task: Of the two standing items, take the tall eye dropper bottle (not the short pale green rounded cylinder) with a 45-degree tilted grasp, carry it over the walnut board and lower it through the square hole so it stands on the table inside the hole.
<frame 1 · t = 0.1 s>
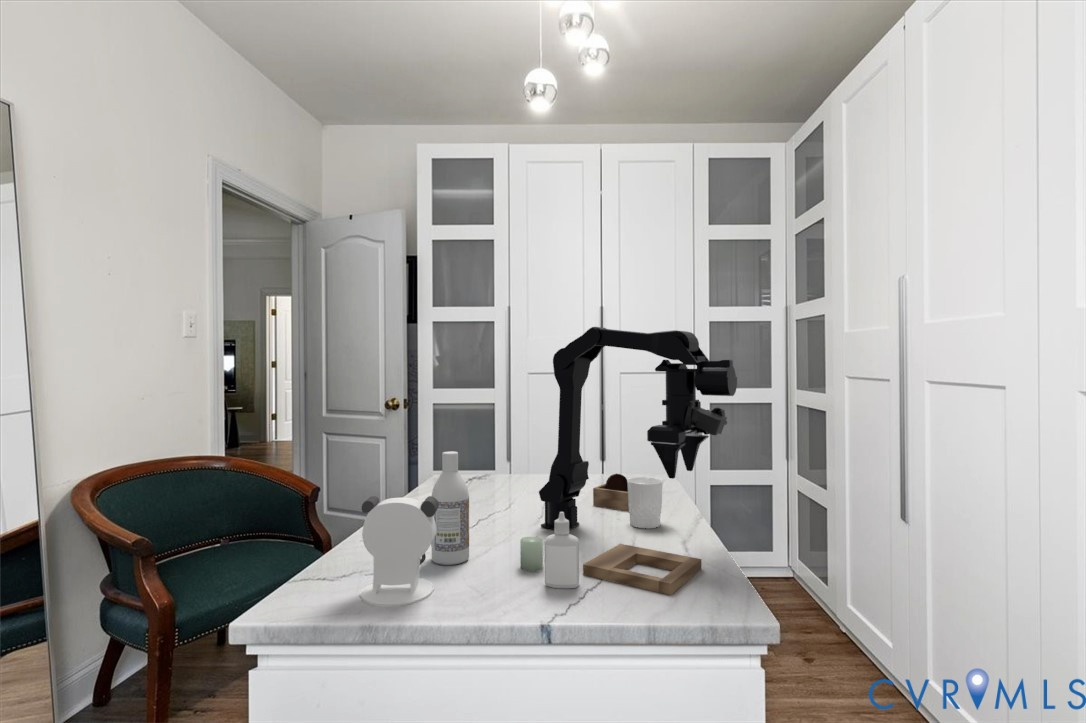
hand: (681, 474, 117), 15 cm above the counter, tool pointing down, fingers open, 9 cm apart
dark brown rounded piece: (624, 504, 153), resting in walnut watch frame
bath foam: (450, 560, 111), on the counter
eye dropper bottle: (562, 586, 98), on the counter
walnut board: (643, 571, 104), on the counter
pale green rounded cylinder: (531, 567, 107), on the counter
white cup: (644, 525, 134), on the counter
walnut watch frame: (621, 504, 153), on the counter
panda figurine: (399, 593, 95), on the counter
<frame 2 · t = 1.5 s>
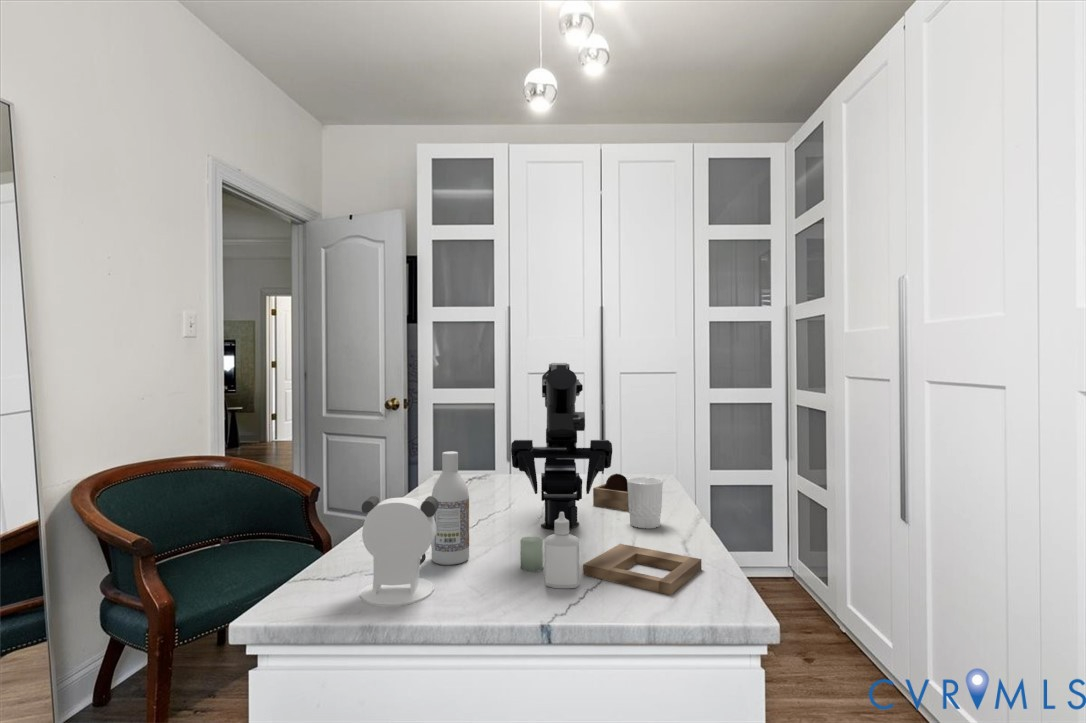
hand: (561, 492, 106), 13 cm above the counter, tool tilted 45°, fingers open, 9 cm apart
nothing on the counter moved.
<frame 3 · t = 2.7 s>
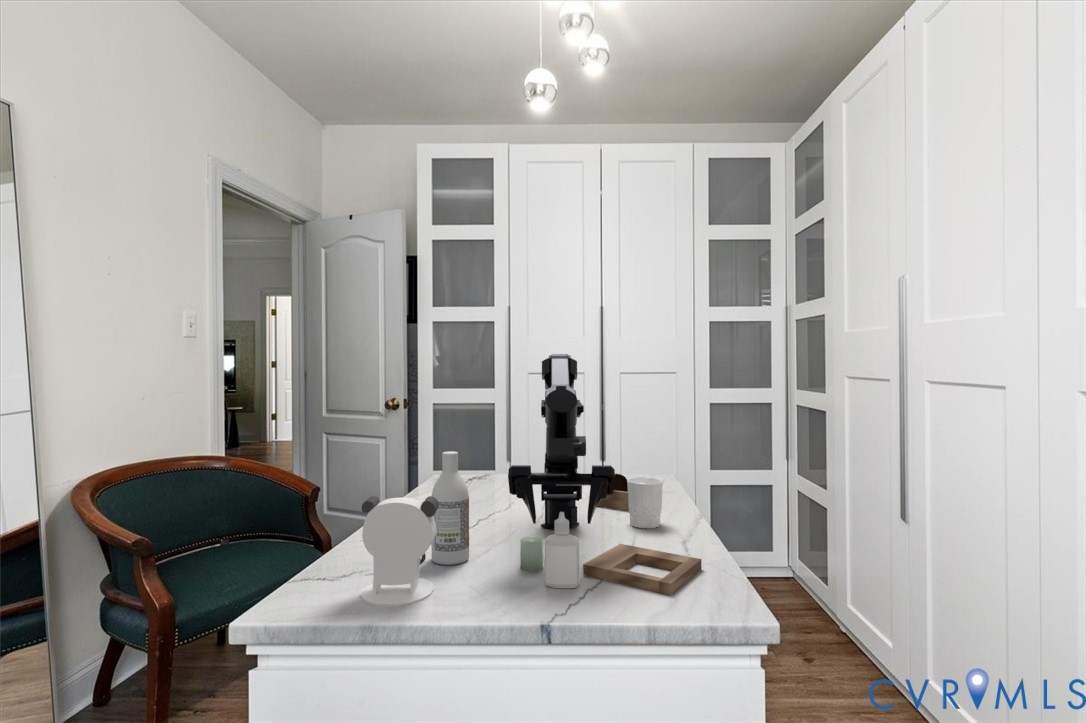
hand: (561, 522, 100), 10 cm above the counter, tool tilted 45°, fingers open, 9 cm apart
nothing on the counter moved.
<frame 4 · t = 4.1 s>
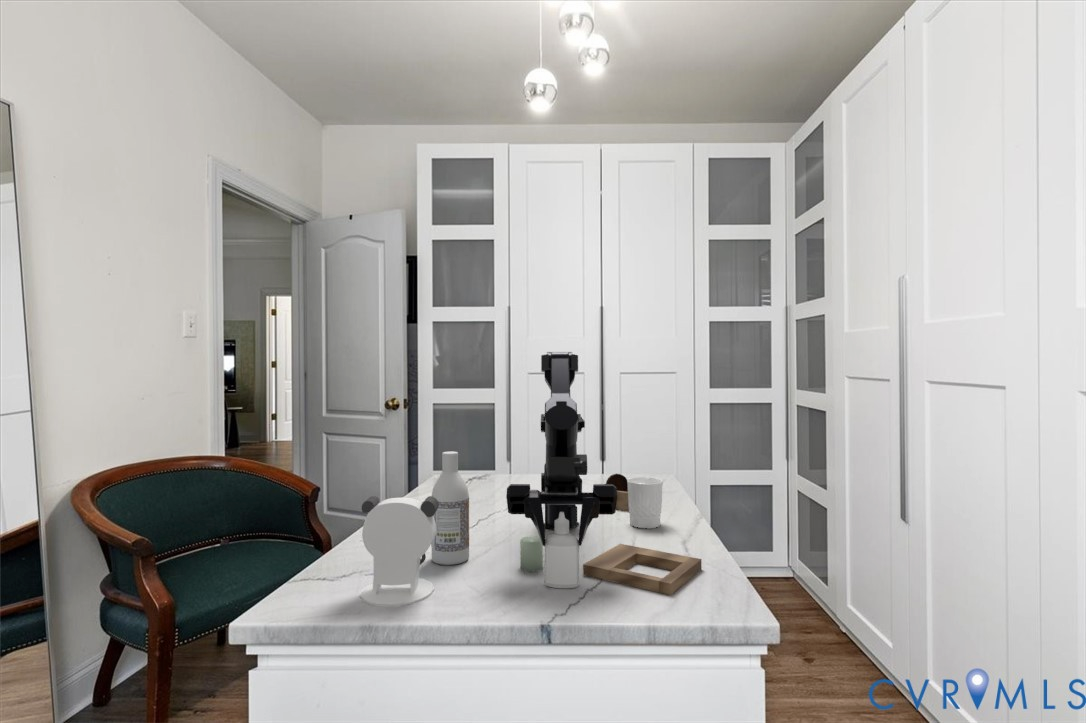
hand: (562, 544, 97), 7 cm above the counter, tool tilted 45°, fingers closed on eye dropper bottle, 5 cm apart
eye dropper bottle: (562, 586, 98), on the counter, touching gripper
everything else where it was.
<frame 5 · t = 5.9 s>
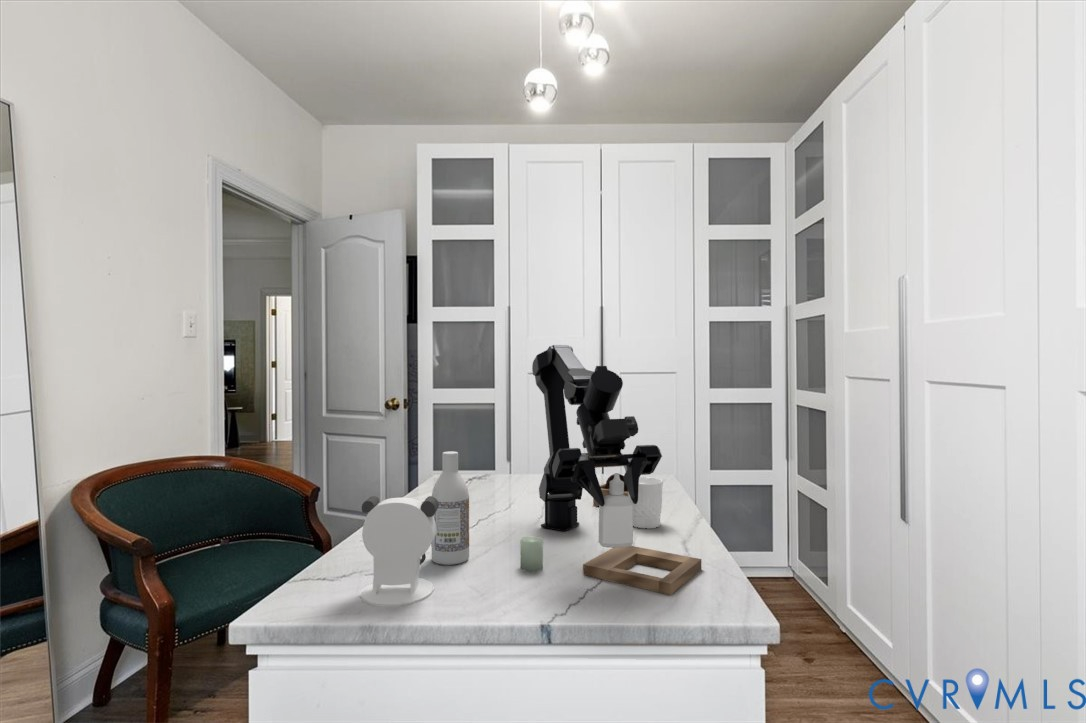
hand: (619, 504, 99), 13 cm above the counter, tool tilted 45°, fingers closed on eye dropper bottle, 5 cm apart
eye dropper bottle: (615, 546, 100), point 6 cm above the counter, touching gripper
everything else where it was.
when the fingers open (8 cm above the counter, at t = 7.7 s): eye dropper bottle stays where it is, resting in walnut board.
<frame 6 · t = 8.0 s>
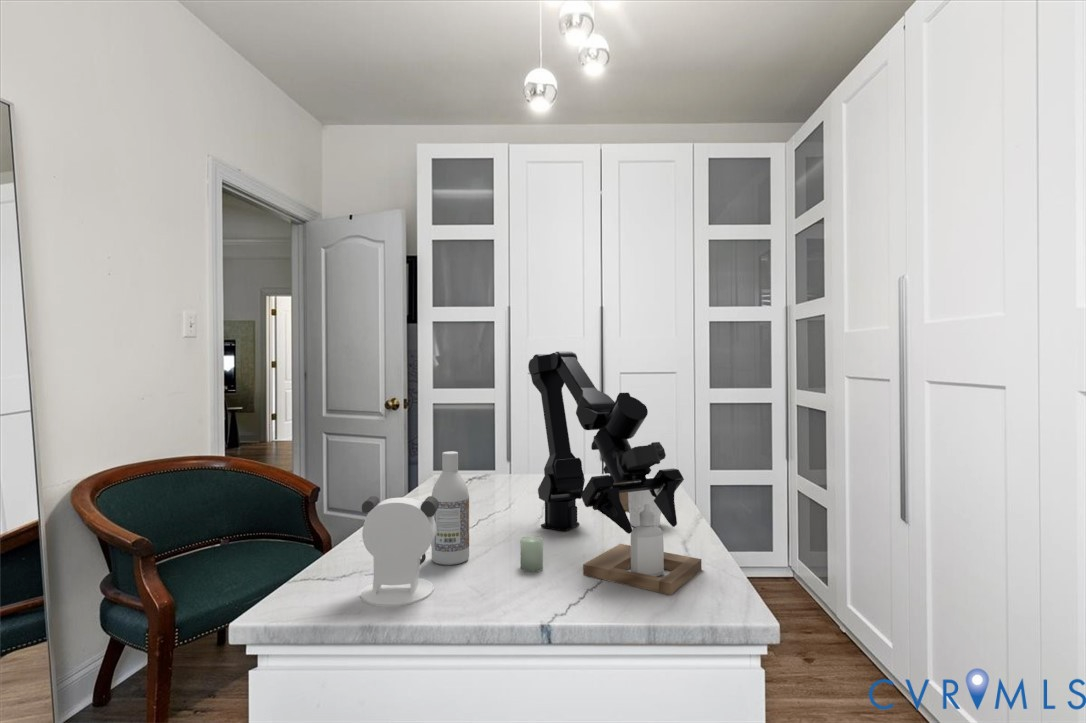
hand: (653, 528, 101), 8 cm above the counter, tool tilted 45°, fingers open, 9 cm apart
eye dropper bottle: (647, 575, 103), resting in walnut board
everything else where it was.
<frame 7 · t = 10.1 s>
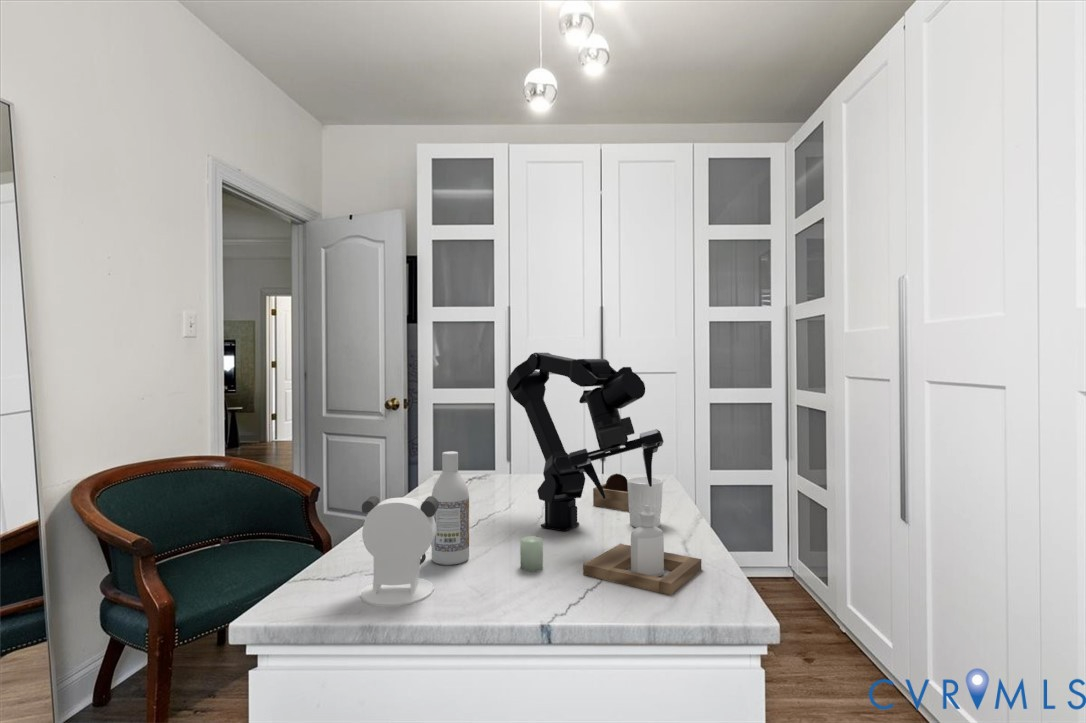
hand: (627, 492, 116), 11 cm above the counter, tool tilted 25°, fingers open, 9 cm apart
nothing on the counter moved.
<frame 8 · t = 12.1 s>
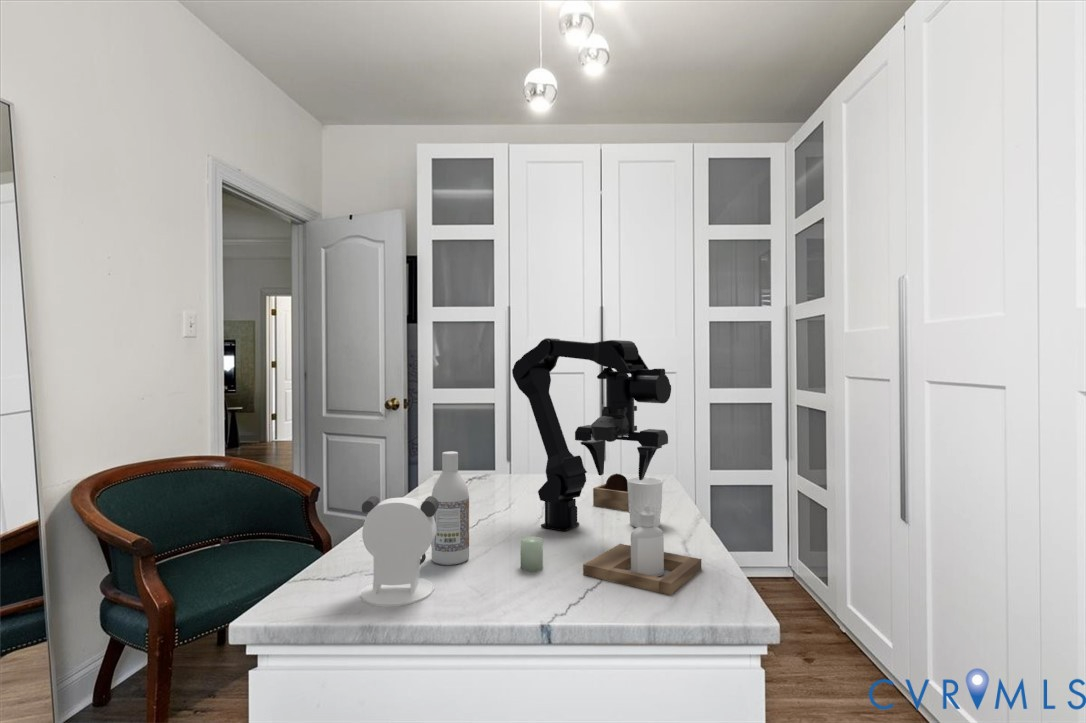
hand: (620, 477, 122), 13 cm above the counter, tool pointing down, fingers open, 9 cm apart
nothing on the counter moved.
at the end: eye dropper bottle 0.3 cm from the target spot on the walnut board, point 0.0 cm above the walnut board's base; eye dropper bottle tilted 0°; the gripper is holding nothing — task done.
